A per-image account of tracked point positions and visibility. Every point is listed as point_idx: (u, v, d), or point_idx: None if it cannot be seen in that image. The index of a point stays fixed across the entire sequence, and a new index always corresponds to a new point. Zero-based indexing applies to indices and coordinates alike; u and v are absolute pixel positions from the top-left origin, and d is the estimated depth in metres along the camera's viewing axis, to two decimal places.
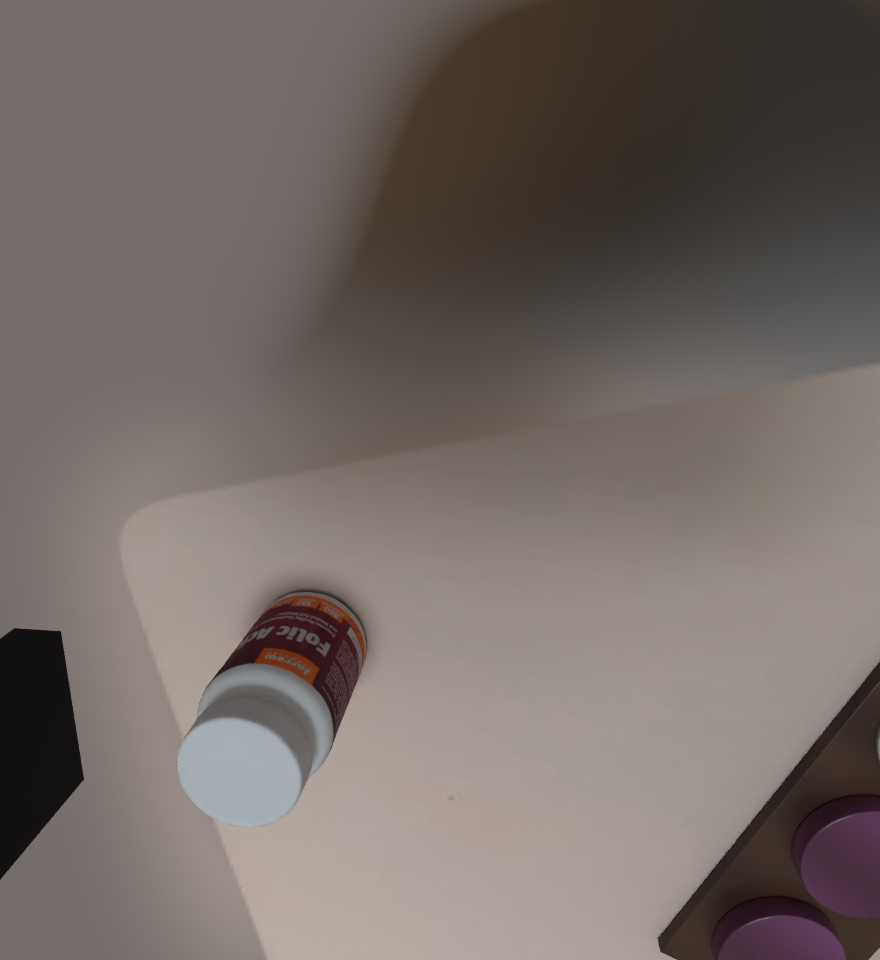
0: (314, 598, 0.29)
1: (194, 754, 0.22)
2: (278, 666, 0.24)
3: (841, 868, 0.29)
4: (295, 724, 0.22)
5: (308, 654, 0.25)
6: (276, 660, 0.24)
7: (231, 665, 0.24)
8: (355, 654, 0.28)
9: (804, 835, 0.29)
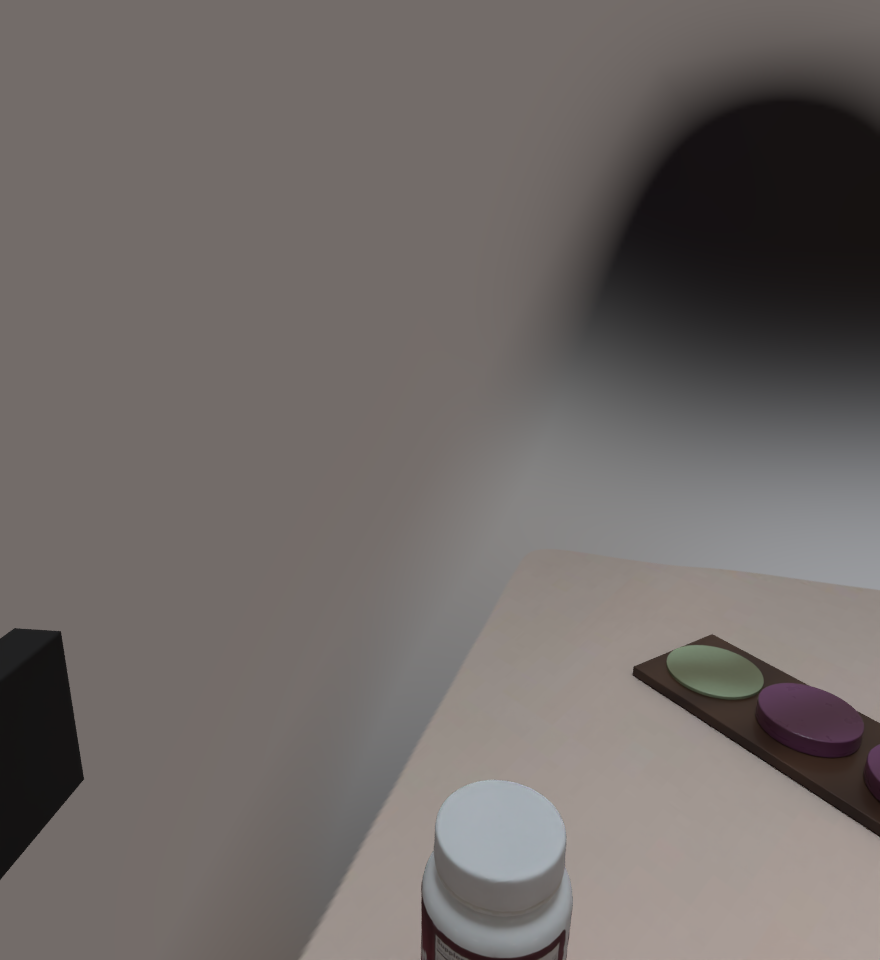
0: None
1: (461, 847, 0.21)
2: None
3: (812, 721, 0.38)
4: None
5: None
6: None
7: (421, 888, 0.23)
8: None
9: (784, 735, 0.38)
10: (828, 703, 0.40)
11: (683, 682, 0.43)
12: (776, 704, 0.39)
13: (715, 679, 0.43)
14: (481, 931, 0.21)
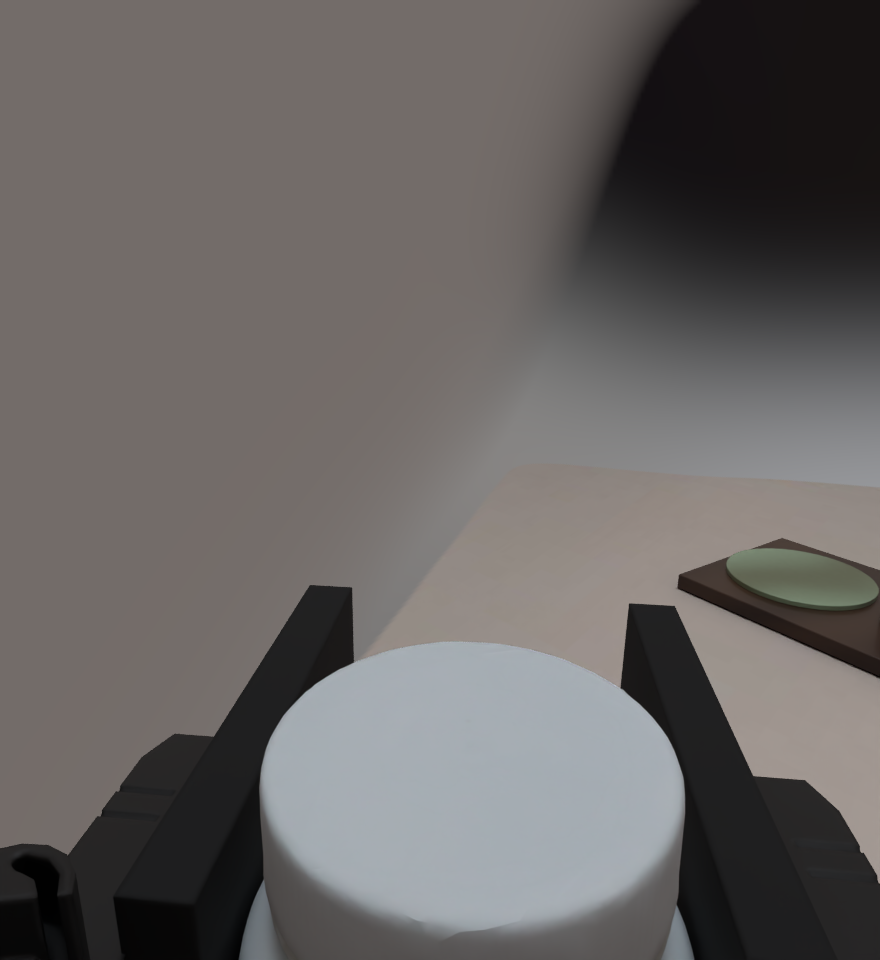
0: None
1: (335, 811, 0.06)
2: None
3: None
4: None
5: None
6: None
7: None
8: None
9: None
10: None
11: (759, 590, 0.28)
12: None
13: (806, 586, 0.28)
14: None
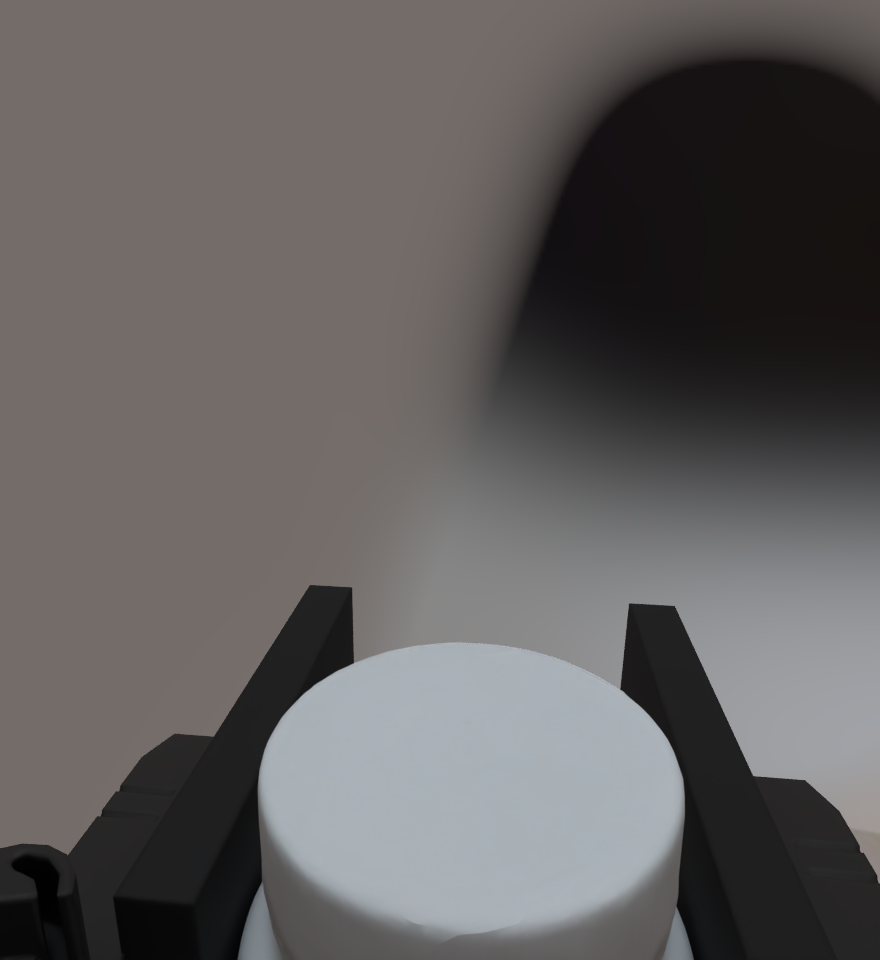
0: None
1: (333, 813, 0.06)
2: None
3: None
4: None
5: None
6: None
7: None
8: None
9: None
10: None
11: None
12: None
13: None
14: None
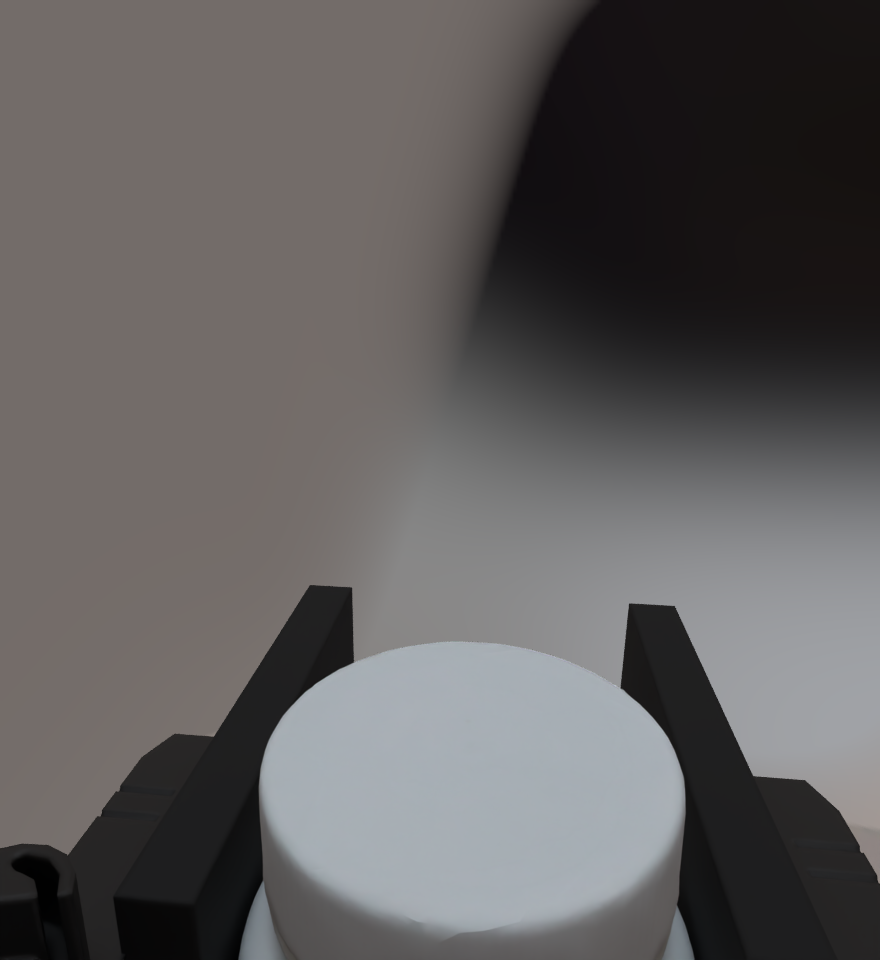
0: None
1: (334, 810, 0.06)
2: None
3: None
4: None
5: None
6: None
7: None
8: None
9: None
10: None
11: None
12: None
13: None
14: None
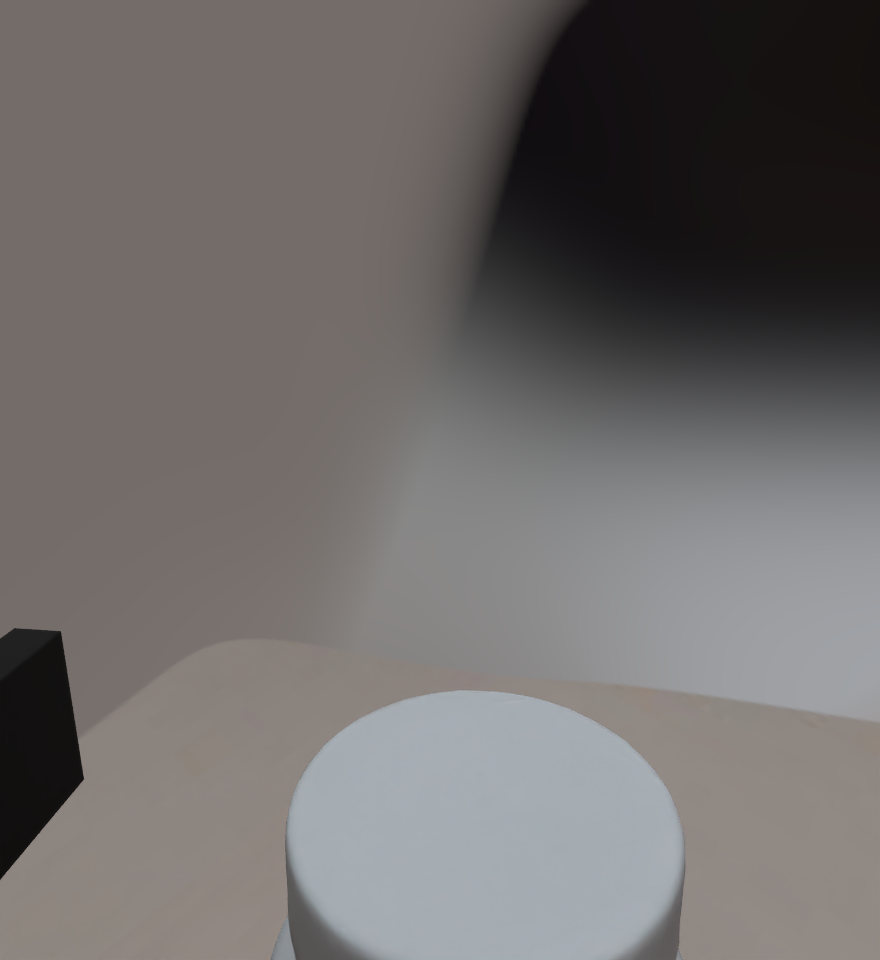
0: None
1: (357, 868, 0.07)
2: None
3: None
4: None
5: None
6: None
7: None
8: None
9: None
10: None
11: None
12: None
13: None
14: None
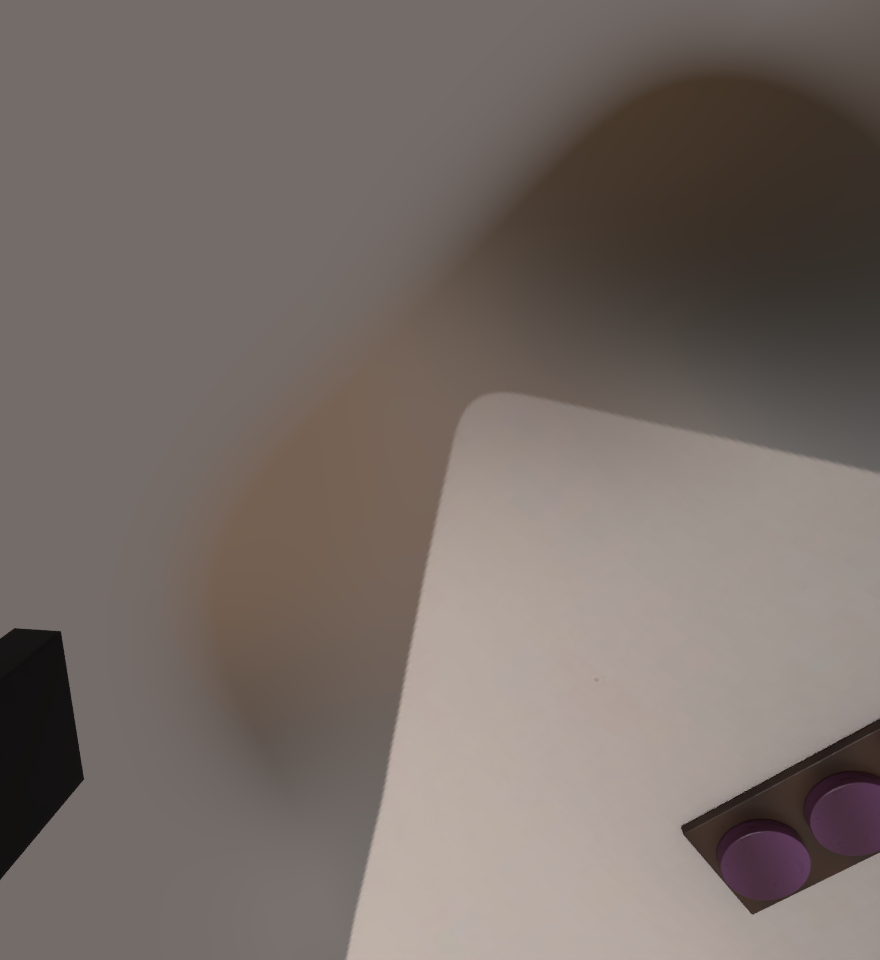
0: None
1: None
2: None
3: (839, 815, 0.42)
4: None
5: None
6: None
7: None
8: None
9: (826, 786, 0.42)
10: (867, 838, 0.42)
11: None
12: (867, 797, 0.41)
13: None
14: None
